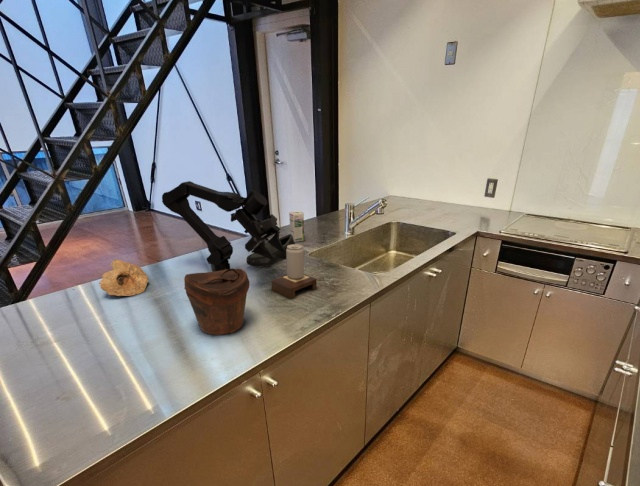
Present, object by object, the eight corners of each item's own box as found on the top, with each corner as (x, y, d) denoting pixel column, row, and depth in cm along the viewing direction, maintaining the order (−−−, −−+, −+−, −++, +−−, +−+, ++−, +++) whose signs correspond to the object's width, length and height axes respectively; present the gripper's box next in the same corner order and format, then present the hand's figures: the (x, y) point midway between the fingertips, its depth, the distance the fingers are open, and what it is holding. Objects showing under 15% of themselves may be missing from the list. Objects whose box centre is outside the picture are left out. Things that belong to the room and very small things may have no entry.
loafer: (241, 268, 161) (239, 245, 156) (281, 250, 184) (280, 229, 179) (260, 273, 157) (259, 249, 152) (298, 253, 180) (298, 232, 175)
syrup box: (294, 242, 196) (293, 214, 189) (290, 239, 200) (289, 211, 193) (304, 240, 198) (303, 213, 191) (299, 237, 203) (299, 210, 196)
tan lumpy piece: (143, 310, 139) (143, 296, 134) (98, 305, 134) (96, 290, 128) (151, 277, 150) (151, 262, 145) (109, 271, 145) (108, 256, 140)
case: (263, 314, 125) (259, 263, 116) (233, 345, 108) (225, 288, 99) (215, 307, 129) (208, 257, 120) (179, 335, 112) (167, 279, 103)
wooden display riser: (290, 298, 136) (290, 288, 134) (271, 290, 142) (270, 279, 140) (316, 288, 144) (316, 278, 142) (297, 280, 151) (296, 270, 149)
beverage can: (285, 279, 140) (284, 248, 135) (288, 273, 146) (287, 243, 140) (302, 280, 140) (302, 249, 134) (305, 274, 146) (304, 244, 140)
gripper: (249, 214, 126) (281, 249, 129) (274, 203, 142) (301, 235, 145) (231, 234, 132) (262, 268, 135) (257, 222, 148) (283, 252, 151)
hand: (278, 255), depth 141 cm, fingers open, 9 cm apart
